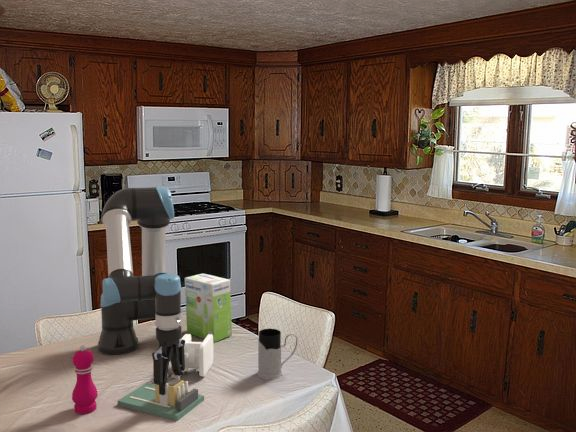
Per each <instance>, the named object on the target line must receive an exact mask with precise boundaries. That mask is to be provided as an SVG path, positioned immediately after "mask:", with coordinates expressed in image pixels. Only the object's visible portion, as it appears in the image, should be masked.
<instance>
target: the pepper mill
mask: <svg viewBox="0 0 576 432" xmlns="http://www.w3.org/2000/svg"><path fill="white" fill-rule="evenodd" d="M86 347H87V346H86V345H80V346H79V350H78V351H76V352H75V353H74V354H73V355H72V358H71V360H72V364H73V365H74V373H75V374H76V383H75V385H74V388H73V390H72V394H71V399H72V402H73V403H74V405H73V409H74V413H76V414H78V415H87V414H90V413H92V412H94V411H96V410H97V401H96V400H97V398H98V389H97V387H96V385H95V383H94V382H93V379H92V372H93V371H94V370H93V369H94V368H93V363H94V360H95V358H94V357H95V356H94V353H93V352H92V351H91V350H89V349H86Z"/></svg>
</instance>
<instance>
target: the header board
mask: <svg viewBox="0 0 576 432" xmlns="http://www.w3.org/2000/svg"><path fill="white" fill-rule="evenodd" d="M203 401H205V395H203V394H199V389H197V388H192V389H191V390H190V391H189V381H188V380H186V381H185V380H184V384H181V398H180V387H179V386H178V387H177V405H176V406H172V405H165V404H161V403H159V402H156V398H155V384H154V383H150V382H146V383H144V384H142V385H141V386H139V387H137V388H135V389H134V390H132V391H131V392H130V393H128V394H126V395H124V396H123V397H121V398H120V399H118V400H117V407H118V406H119V407H122V408H128V409H131V410H134V411H138V412H142V413H146V414H150V415H154V416H157V417H161V418H165V419H170V420H174V421H177V422H178V421H179V420H180V419H182V418H183V417H184V416H186V415H187V414H188V413H189V412H191V411H193V409H195V408H196V407H197V406H199V405H200V404H201V403H202V402H203Z"/></svg>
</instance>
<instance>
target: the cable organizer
mask: <svg viewBox="0 0 576 432" xmlns="http://www.w3.org/2000/svg"><path fill="white" fill-rule="evenodd" d="M181 339H182V340H185V346H184V354H185V370H184V371H182V372H185V371H186V372H187V373H189V369H195V373H197V372H199V373H198V375H199V377H202V378H204V377H206V375H207V373H208V372H209V370H210V368H211V367H212V365H213V363H214V342H213V335H212V334H208V335H207V337H206V338H205V339H203V341H192V334H189V333H185V334H184V335H183V336H182V337H181ZM180 366H181V365H180ZM182 376H183V375H180V377H182Z"/></svg>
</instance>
